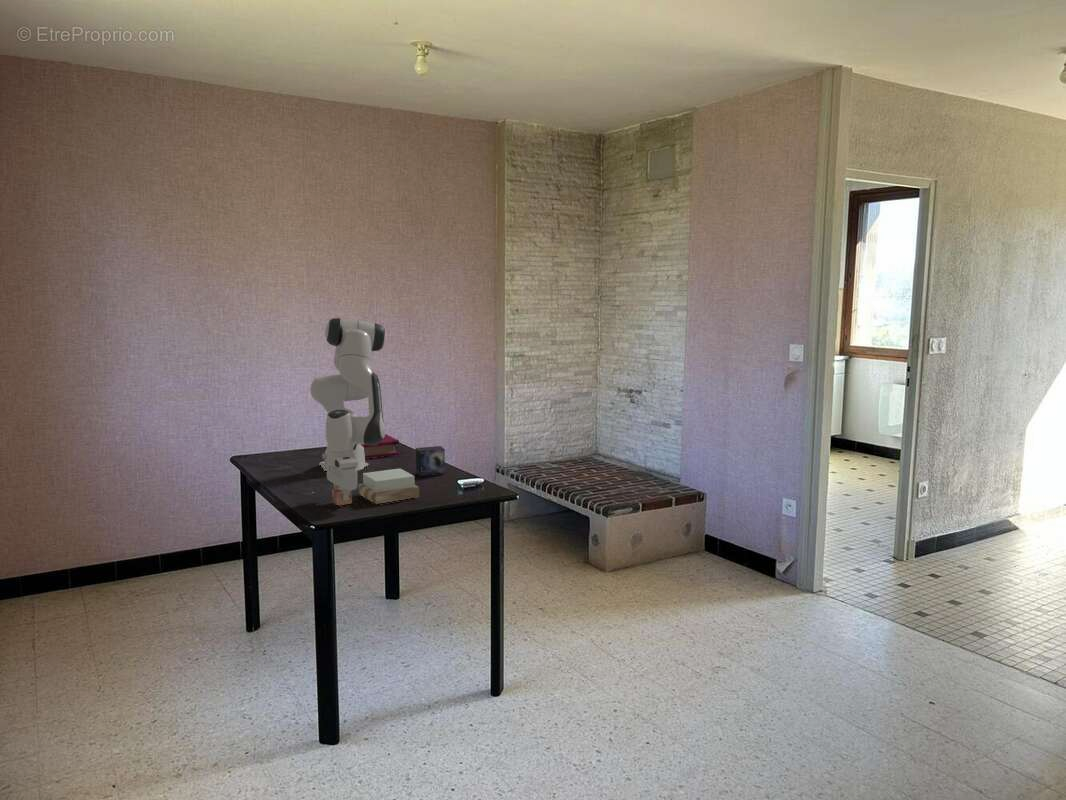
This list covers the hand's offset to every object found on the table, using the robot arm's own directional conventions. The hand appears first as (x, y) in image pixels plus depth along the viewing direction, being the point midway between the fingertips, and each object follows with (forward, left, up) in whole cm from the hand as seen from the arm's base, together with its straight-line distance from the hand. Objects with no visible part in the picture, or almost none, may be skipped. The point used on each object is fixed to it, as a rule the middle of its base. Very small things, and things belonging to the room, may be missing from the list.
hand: (342, 497), depth 261 cm
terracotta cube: (0, 0, -2) cm, 2 cm away
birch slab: (0, +17, -3) cm, 17 cm away
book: (-76, +40, -3) cm, 86 cm away
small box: (-22, +44, -2) cm, 49 cm away
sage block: (0, +17, +2) cm, 17 cm away
